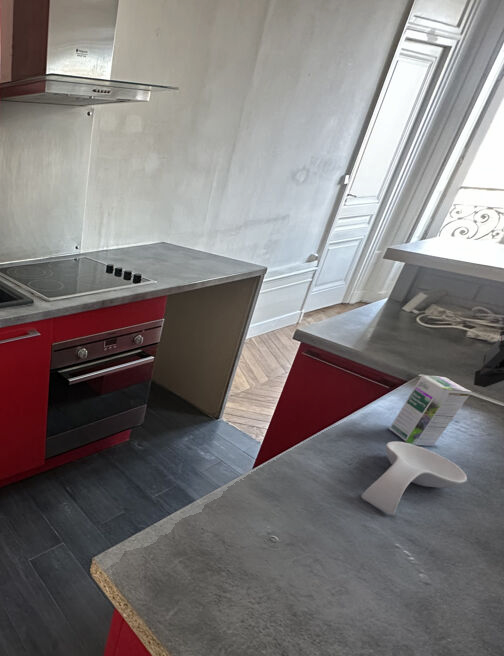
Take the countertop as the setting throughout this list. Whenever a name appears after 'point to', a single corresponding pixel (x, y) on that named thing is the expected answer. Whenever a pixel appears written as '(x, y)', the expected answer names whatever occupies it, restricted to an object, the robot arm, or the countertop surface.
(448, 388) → the syrup box
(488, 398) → the countertop surface
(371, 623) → the countertop surface
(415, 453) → the spoon rest
